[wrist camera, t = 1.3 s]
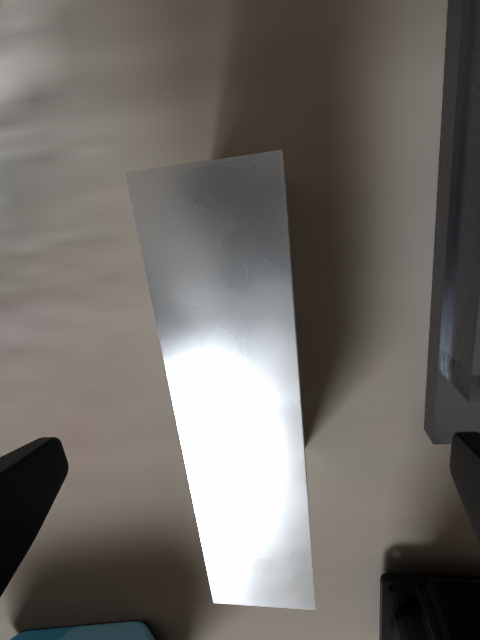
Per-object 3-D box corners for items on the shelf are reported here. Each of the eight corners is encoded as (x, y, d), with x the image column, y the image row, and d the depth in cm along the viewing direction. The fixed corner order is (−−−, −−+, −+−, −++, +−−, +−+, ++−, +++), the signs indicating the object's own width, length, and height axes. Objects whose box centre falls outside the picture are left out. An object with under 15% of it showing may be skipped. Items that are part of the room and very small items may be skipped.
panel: (305, 446, 16) (315, 610, 10) (242, 446, 17) (213, 602, 10) (285, 176, 13) (282, 149, 6) (207, 187, 13) (125, 173, 7)
